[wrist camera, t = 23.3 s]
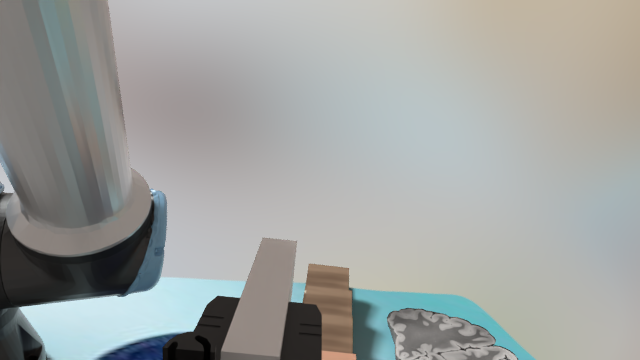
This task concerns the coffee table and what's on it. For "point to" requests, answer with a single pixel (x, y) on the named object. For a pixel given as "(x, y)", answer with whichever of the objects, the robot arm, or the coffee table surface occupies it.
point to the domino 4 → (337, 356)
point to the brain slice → (441, 338)
